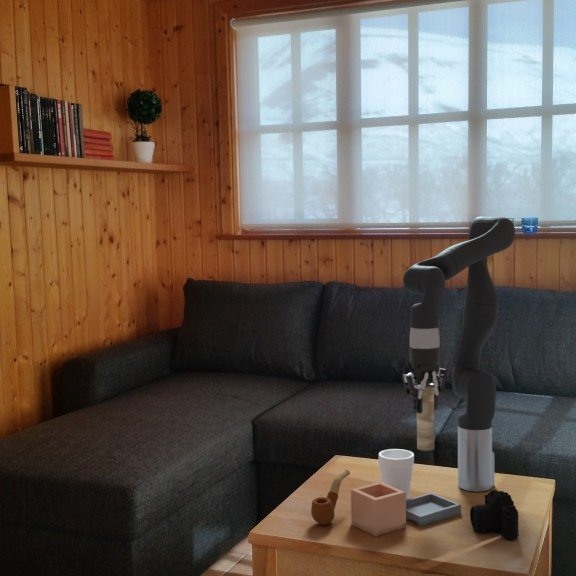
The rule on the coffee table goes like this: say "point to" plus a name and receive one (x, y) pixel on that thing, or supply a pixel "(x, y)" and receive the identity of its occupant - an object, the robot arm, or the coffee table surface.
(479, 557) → the coffee table surface
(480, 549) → the coffee table surface
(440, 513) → the tray
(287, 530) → the coffee table surface
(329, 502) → the smoking pipe
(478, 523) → the film camera
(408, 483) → the foam cup
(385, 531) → the deep box
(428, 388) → the maple dowel
